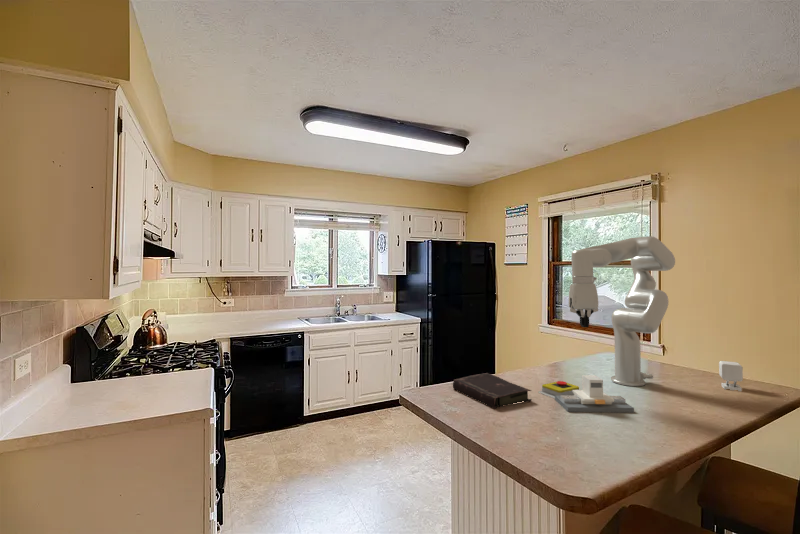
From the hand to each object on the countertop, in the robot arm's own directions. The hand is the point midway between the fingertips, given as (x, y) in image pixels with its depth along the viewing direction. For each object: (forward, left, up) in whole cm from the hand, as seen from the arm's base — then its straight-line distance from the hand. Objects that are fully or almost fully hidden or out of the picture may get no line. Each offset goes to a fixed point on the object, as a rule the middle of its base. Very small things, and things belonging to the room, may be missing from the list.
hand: (584, 326), depth 150 cm
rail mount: (+5, +16, -26) cm, 31 cm away
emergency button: (+11, +2, -26) cm, 29 cm away
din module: (+4, +16, -22) cm, 27 cm away
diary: (+38, +5, -26) cm, 47 cm away
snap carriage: (+5, +16, -24) cm, 29 cm away
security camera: (-60, -6, -26) cm, 66 cm away
